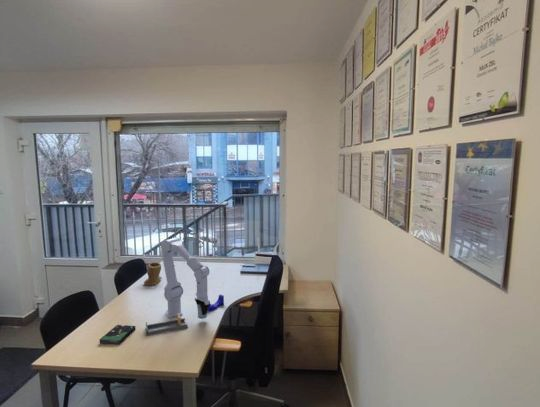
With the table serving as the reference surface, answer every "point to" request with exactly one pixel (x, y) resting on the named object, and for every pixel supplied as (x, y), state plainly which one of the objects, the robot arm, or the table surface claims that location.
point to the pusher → (178, 319)
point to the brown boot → (153, 273)
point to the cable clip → (217, 304)
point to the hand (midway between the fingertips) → (202, 312)
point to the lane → (165, 327)
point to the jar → (200, 313)
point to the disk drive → (117, 335)
